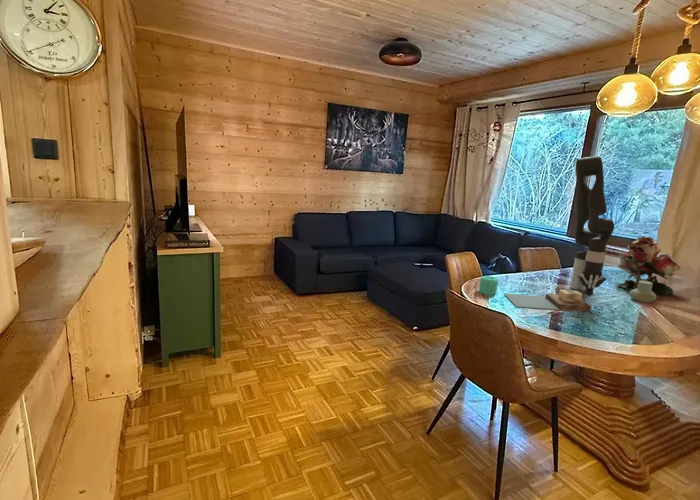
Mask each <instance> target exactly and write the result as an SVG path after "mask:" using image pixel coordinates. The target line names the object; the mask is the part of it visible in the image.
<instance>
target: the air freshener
mask: <svg viewBox="0 0 700 500" xmlns="http://www.w3.org/2000/svg"><path fill="white" fill-rule="evenodd" d="M652 285H653V284H652V283H651V282H648V281H639V282H638V286H637V288H636V289H631V291H629V296H630V298H632V299H634V301H638V302H640V303H645V304H646V303H647V304H648V303H652V302H654V301H656V299H657V295H655V293H654V292H652V291H651V290H652Z"/></svg>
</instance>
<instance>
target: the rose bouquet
mask: <svg viewBox="0 0 700 500" xmlns="http://www.w3.org/2000/svg"><path fill="white" fill-rule="evenodd" d="M654 239H655V238H654V237H651V236H648V237H647V236H641V237H637V238H636V240H635V241H632V244H633V245H632V244H629V245H628V246H627V250H628V252H626V253H625V254H623V255H622V257H620V259H619V261H620V263H619V264H618V265H617V266H616V267H617V268H618V269H621V270H622V271H624V272H626V273H628V274H629V276H628V277H627V279H624V282H623V283H617V284H616V285H615V287H617V288H624V289H625V290H628V291H629V292H631V290H633V289H636V288H637V286H638V282H639V281H648V282H651V283H652V284H653V285H652V290H651V291H652V292H654V293H655V294H656V296H659V295H670V294H674V289H673V288H672V287H671V286H670V285H669V286H668V285H667V284H665V283H663V282H658V279H657V276H660V277H662V278H664V279H665V280H669V281H671V279H670V278H672V277H674V272H676V271H680V270H681V266H680V265H679V264H677V261H676V260H675V258H674V257H673V255H671V254H669V253H667V252H661V251H662V249H661V248H659V246H658V242H656V240H654ZM653 274H654V275H653ZM645 275H647V276H648V277H647V278H644V279H643V278H641V276H645ZM666 276H667V277H670V278H667V277H666ZM632 277H633V278H634V279H635V280H633V279H630V278H632Z"/></svg>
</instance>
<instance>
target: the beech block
mask: <svg viewBox="0 0 700 500" xmlns="http://www.w3.org/2000/svg"><path fill="white" fill-rule="evenodd" d="M558 292H559V293H558V294H559V298H560V299H562V300H563V301H567V302H581V301H583V296H584V295H583V293H582V292H580V291H579V290H575V289H572V290H571V289H559V291H558Z"/></svg>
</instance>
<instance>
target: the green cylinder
mask: <svg viewBox="0 0 700 500" xmlns="http://www.w3.org/2000/svg"><path fill="white" fill-rule="evenodd" d="M498 285H499V279H498V278H497V277H495V276H491V275H483V276H481V277H480V280H479V286H478V289H479V290H478V291H479V292H480V293H481V294H483V295H486V296H496V294H497V292H498Z"/></svg>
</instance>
